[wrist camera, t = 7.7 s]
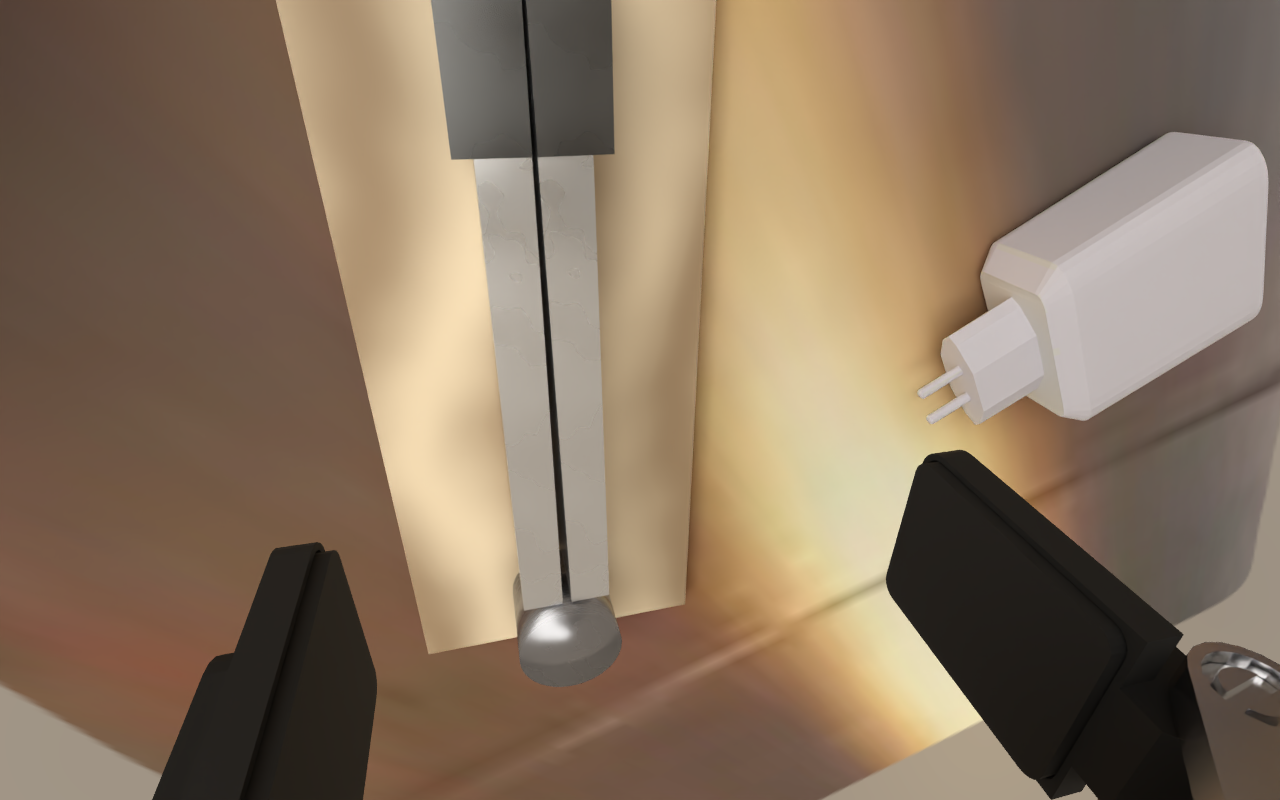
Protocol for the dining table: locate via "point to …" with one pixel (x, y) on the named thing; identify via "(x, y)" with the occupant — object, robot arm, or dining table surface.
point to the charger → (1116, 282)
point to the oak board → (459, 305)
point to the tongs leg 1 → (507, 257)
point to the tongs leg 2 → (572, 260)
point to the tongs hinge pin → (566, 637)
